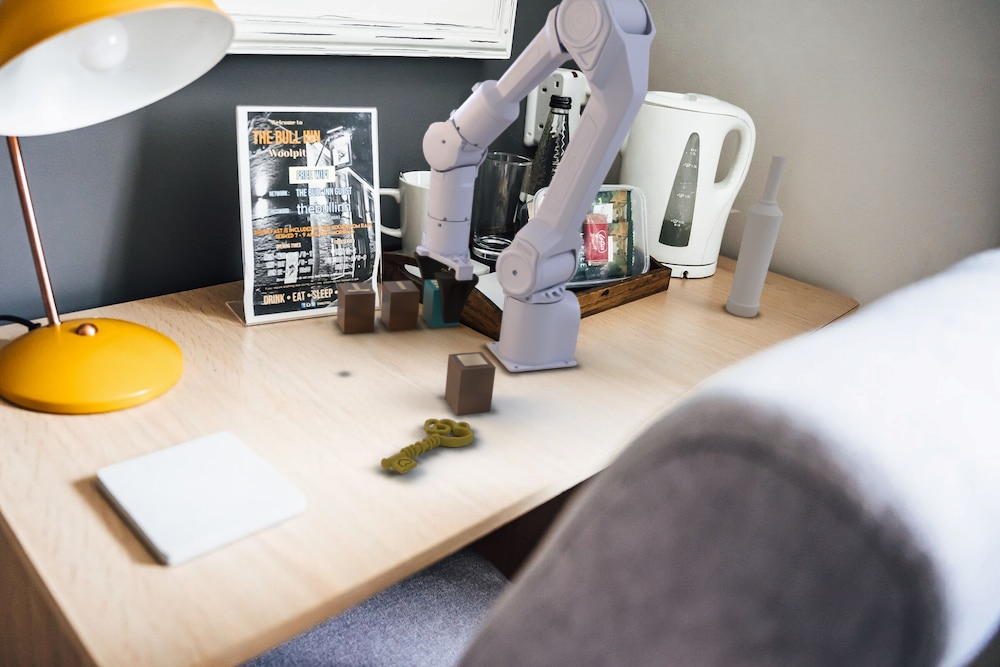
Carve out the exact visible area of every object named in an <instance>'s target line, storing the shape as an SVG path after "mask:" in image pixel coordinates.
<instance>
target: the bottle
mask: <svg viewBox="0 0 1000 667" xmlns="http://www.w3.org/2000/svg"><path fill="white" fill-rule="evenodd" d="M787 158H788V156H786V155H783V154H772V156H771V161H770V165H769V170H768V174H767V179H766V183H765V186H764V190H763V194H762V197H761V198H759V201H758V202H756V203H755V204H753V205H752V206H750V207H748V210H747V215H746V221H745V225H744V230H743V233H742V237H741V242H740V248H739V252H738V257H737V262H736V266H735V270H734V276H733V279H732V283H731V289H730V293H729V296H727V297H726V303H725V310H726V311H727V312H728V313H730V314H732V315H735V316H738V317H741V318H742V317H743V318H753V317H756V316H757V315H758V312H759V309H760V305H761V304H760V299H761V295H762V292H763V289H764V285H765V281H766V278H767V274H768V271H769V267H770V263H771V260H772V257H773V253H774V250H775V246H776V242H777V239H778V235H779V230H780V227H781V224H782V221H783V218H784V217H783V216H784V213H783V212H782V210H781V209H780V207H779V206H778V201H777V197H778V192H779V189H780V185H781V180H782V176H783V172H784V170H785V166H786V162H787Z"/></svg>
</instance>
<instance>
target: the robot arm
mask: <svg viewBox="0 0 1000 667" xmlns="http://www.w3.org/2000/svg"><path fill="white" fill-rule="evenodd" d="M656 34H657V28H656V26H655V22H654V20H653V18H652V15H651V11H650V9H649V7H648V5H647V3H646V1H645V0H561V2H560V4H558V5H556V6H555V7H554V8H552V9H551V10H549V12H548V15H547V18H546V22H545V24H544V26H543V27H542V28H541V29H540V31H539V32H538V33H537V34H536V35H535V37H534V38H533V39H532V40H531V41H530V43H529V44H528V45H527V46H526V47H525V49H524V50H523V51H522V52H521V53H520V54H519V56H518V57H517V58H516V60H514V61H513V63H512V64H511V65H510V66H509V68H508V69H507V70H506V71H505V72H504V73H503V75H502V76H501V77H500V79H499V80H494V79H489V80H488V79H487V80H485V81H482V82H476V83H475V84H474V85H473V86H472V87H471V91H472V93H471V95H470V96H469V97H468V98H467V99H466V100H465V101H464V102H463V103H462V104H461V106H459V108H457V109H453V110H452V111H451V112H450V114H449V116H450V117H449V118H448V119H446V121H437V122H436V121H435V122H433V123H431V124H430V125H429V127H428V129H427V130H426V132H425V133H424V136H423V140H422V151H423V155H424V159H425V161H426V162H427V164H428V165H429V166H430V177H429V188H428V189H429V190H428V203H427V204H428V205H427V217H426V219H427V220H426V230H425V231H422V236H421V245H418V246H416V250H415V251H414V252H413V256H414V259H415V261H416V264H417V266H418V270H419V273H420V279H421V284H422V291H423V293H424V285H425V280H434V279H436V280H437V283H438V286H439V290H440V296H441V314H442V320H443V322H444V323H445V324H446V323H458V324H459V322H460V320H461V317H462V315H463V312H464V308H465V306H466V303H467V301H468V299H469V297H470V295H471V294H472V292H473V291H474V289H475V288H476V286H477V285H478V284H479V282H480V277H479V276H478V275H477V274H476V273H474V265H473V263H472V262H471V253H470V248H469V244H470V232H471V222H472V213H473V212H472V211H473V201H474V190H475V181H476V178H478V176H479V174H478V173H479V169H480V166H481V165H482V164H483V163H484V162H485V160H486V159H487V158H486V157H487V155H488V151H489V149H488V147H489V146H490V145H491V144H492V143H493V142H494V141H495V140H496V139H497V138H499V136H500V135H501V134H502V133H503V132H504V131H505V130H506V129H508V127H509V126H511V124H513V123H514V122H515V121H516V120H517V119H518V117H519V115H520V102H521V101H523V99H525V97H527V96H528V95H529V94H530V93H531V92H532V91H533V90H535V89H536V88H537V87H538V86H539V85H540V84H542V83H543V82H544V81H545V80H546V79H547V78H548V77H550V76H551V75H552V74H553V73H554V72H555V71H556V70H558V68H560V67H561V66H562V65H563V64H564V63H565V62H568V61H571V60H573V61H574V62H575V63H576V65H577V67H578V68H579V69H580V70H581V72H582V73H583V75H584V76H585V78H586V81H587V83H588V86H589V89H590V96H589V98H588V100H587V102H586V105H585V107H584V109H583V111H582V114H581V116H580V117H579V120H578V122H577V124H576V127H575V129H574V130H573V132H572V136H571V137H570V140H569V142H568V144H567V146H566V148H565V150H564V152H563V155H562V157H561V159H560V161H559V163H558V166H557V168H556V170H555V173H554V174H553V176H552V178H551V181H550V183H549V185H548V187H547V190H546V191H545V194H544V196H543V199H542V201H541V203H540V205H539V207H538V209H537V211H536V213H535V216H534V217H533V218H531V219H530V220H529V221H528V222H527V223H526V224H525V225H524V226H523V227H522V228H520V229H519V230H518V231H517V233H516V234H515V236H514V239H513V240H512V242H511V243H510V244H509V246H507V247H506V248H504V249H503V250H501V252H500V253H499V255H498V257H497V259H496V263H495V275H496V279H497V281H498V283H499V285H500V287H501V288H502V294H503V295H504V299H503V300H504V301H503V308H502V316H501V325H500V332H499V339H498V340H499V341H492V342H487V343H486V348H487V349H488V350H489V351H490V352H491V353H492V355H494V356H495V357H496V358H497V360H498V361H499V362H500V363H501V364H502V366H504V367H505V368H506V369H507V370H508V371H509V372H510V373H520V372H529V371H539V370H540V371H541V370H550V369H551V370H552V369H558V368H570V367H576V366H577V363H578V362H577V361H576V360H575V357H576V350H577V344H578V338H579V332H580V331H579V330H580V326H581V319H582V318H581V317H582V315H581V306H580V302H579V299H578V297H577V295H576V294H575V293H574V292H573V291H571V290H566V289H567V288H566V286H567V283H568V282H570V281H571V280H572V279H573V278H574V277H575V275H576V274H577V272H578V270H579V269H578V268H579V256H580V252H581V249H582V247H583V245H584V242H585V240H584V238H583V237H582V235H581V234H580V232H579V231H580V229H581V227H582V225H583V224H584V221H585V219H586V217H587V216H588V213H589V211H590V210H591V208H592V205H593V203H594V202H595V199H596V197H597V196H598V193H599V192H600V189H601V187H602V185H603V183H604V182H605V180H606V178H607V175H608V174H609V171H610V169H611V168H612V166H613V163H614V162H615V159H616V158H617V156H618V154H619V151H620V150H621V148H622V146H623V144H624V142H625V140H626V138H627V136H628V134H629V132H630V130H631V128H632V126H633V124H634V122H635V120H636V118H637V116H638V114H639V112H640V110H641V108H642V106H643V104H644V102H645V100H646V97H647V94H648V90H649V74H650V73H649V72H650V55H651V54H650V53H651V51H650V50H651V45H652V43H653V40H654V39H655V37H656ZM442 268H444V269H447V270H448V272H441V269H442Z"/></svg>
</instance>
